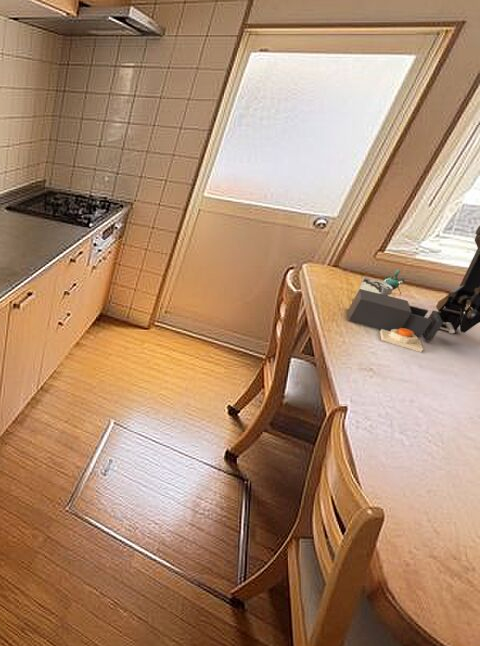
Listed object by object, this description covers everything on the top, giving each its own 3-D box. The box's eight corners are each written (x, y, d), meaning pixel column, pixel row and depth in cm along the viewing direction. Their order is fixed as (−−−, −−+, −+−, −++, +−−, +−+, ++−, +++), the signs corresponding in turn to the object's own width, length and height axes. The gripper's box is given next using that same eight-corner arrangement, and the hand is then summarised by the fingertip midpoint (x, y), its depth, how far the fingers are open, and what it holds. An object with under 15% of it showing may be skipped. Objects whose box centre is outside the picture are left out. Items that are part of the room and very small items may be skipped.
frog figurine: (390, 296, 178) (411, 265, 170) (397, 315, 165) (420, 283, 157) (362, 289, 182) (381, 259, 174) (366, 308, 170) (387, 276, 162)
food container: (388, 315, 160) (402, 291, 156) (370, 312, 161) (384, 289, 157) (367, 301, 171) (380, 279, 167) (351, 299, 172) (363, 276, 168)
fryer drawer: (442, 333, 148) (454, 315, 144) (447, 346, 140) (461, 327, 136) (380, 316, 157) (390, 299, 153) (382, 327, 148) (393, 309, 145)
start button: (410, 335, 141) (413, 330, 140) (411, 339, 139) (414, 334, 138) (396, 331, 143) (399, 326, 142) (397, 335, 141) (400, 330, 140)
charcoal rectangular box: (394, 322, 155) (407, 300, 151) (397, 335, 146) (411, 312, 142) (347, 309, 162) (359, 288, 158) (348, 321, 153) (360, 299, 149)
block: (418, 342, 142) (423, 335, 141) (421, 352, 136) (426, 344, 135) (379, 331, 148) (384, 324, 146) (381, 340, 142) (386, 332, 140)
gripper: (540, 308, 122) (505, 352, 129) (520, 289, 135) (489, 330, 143) (485, 295, 128) (454, 338, 135) (471, 278, 141) (444, 318, 149)
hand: (462, 331), depth 140 cm, fingers closed
